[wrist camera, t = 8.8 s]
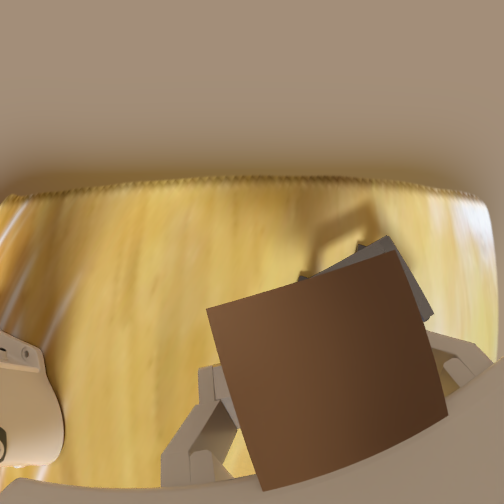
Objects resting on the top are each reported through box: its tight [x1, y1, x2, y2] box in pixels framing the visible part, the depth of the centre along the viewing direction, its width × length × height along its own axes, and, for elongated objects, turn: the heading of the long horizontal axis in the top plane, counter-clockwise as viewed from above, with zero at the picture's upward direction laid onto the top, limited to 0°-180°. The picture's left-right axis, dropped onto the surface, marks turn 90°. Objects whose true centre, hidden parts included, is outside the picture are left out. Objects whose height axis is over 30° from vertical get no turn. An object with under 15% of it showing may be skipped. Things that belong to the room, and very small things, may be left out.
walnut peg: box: [206, 250, 448, 492], centre depth 10 cm, size 4×4×11 cm
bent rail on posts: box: [298, 235, 434, 322], centre depth 26 cm, size 13×8×6 cm, turn 72°
